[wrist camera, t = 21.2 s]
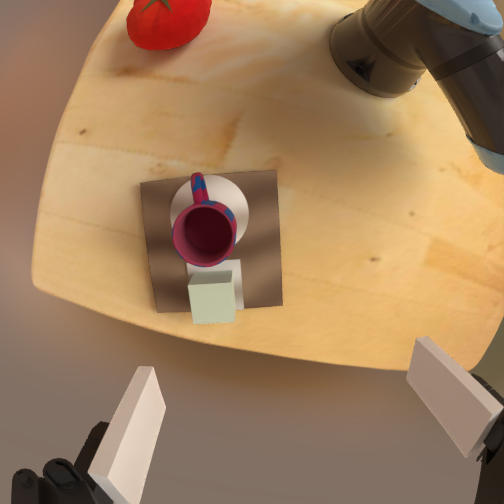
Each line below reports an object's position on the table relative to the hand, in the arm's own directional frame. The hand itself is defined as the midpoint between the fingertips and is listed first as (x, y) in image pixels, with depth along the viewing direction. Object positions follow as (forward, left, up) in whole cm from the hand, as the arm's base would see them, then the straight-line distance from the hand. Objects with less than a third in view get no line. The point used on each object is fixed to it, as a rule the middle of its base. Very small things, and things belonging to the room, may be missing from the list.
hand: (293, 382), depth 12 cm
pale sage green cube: (+4, -6, -25) cm, 26 cm away
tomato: (-35, -10, -27) cm, 45 cm away
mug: (-6, -6, -25) cm, 26 cm away
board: (-2, -6, -27) cm, 27 cm away
